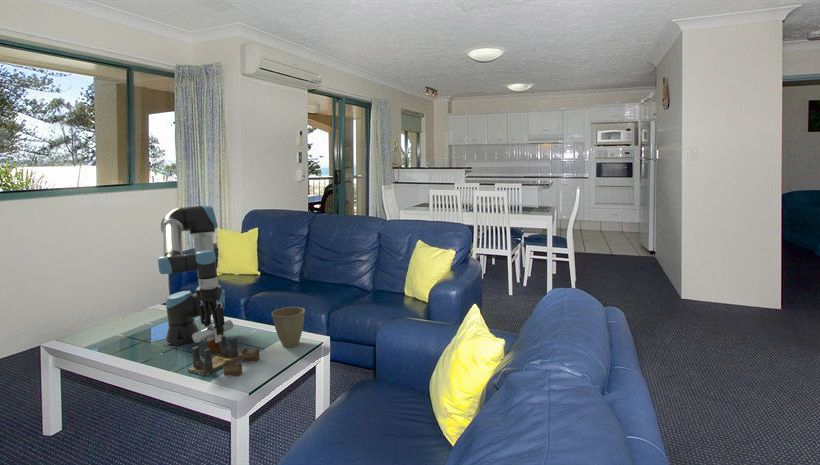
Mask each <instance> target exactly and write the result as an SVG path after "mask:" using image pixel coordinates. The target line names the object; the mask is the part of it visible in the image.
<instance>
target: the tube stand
mask: <svg viewBox="0 0 820 465" xmlns="http://www.w3.org/2000/svg"><path fill="white" fill-rule="evenodd" d="M241 354H242V358H241V359H242V360H239V361H237V362H235V363H234V362H232V363H229V360H227V361H225V362H224V363H223V367H222V370H223V375H224V376H228V375H231V376H230V377H232V376H233V377H240V376H242V374H243V362H248V363H249V362H250V363H257V362H259V361H260V360H261V355H260V347H257V348H254V349H248V347H247V346H245V347H244V348H242V349H241Z"/></svg>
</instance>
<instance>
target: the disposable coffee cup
mask: <svg viewBox="0 0 820 465" xmlns="http://www.w3.org/2000/svg"><path fill="white" fill-rule="evenodd" d="M211 323H212V324H210V325H212V326H215V324H214V322H211ZM204 329H206V328H205V326H204V325H203V327H202V330H204ZM202 330H201V331H202ZM222 335H225V332H223V333H221V336H222ZM205 343H206V346H207V349H211V354H216V353H220V348H219V342H217V343H215V336H214V340H211V341H207V339H205Z"/></svg>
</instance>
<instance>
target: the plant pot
mask: <svg viewBox="0 0 820 465" xmlns="http://www.w3.org/2000/svg"><path fill="white" fill-rule="evenodd" d="M305 310H306V309H305V308H303V307H298V306H289V307H287V306H286V307H282V308H277V309H275V310H273V311H272V312H271V318H272V320H273V325H274V328H275V332H276V334H277V337H278V339H279V341H280V344H281V345H282V346H283V347H284V348H293V347H297V346H298V345H299V343H300V341H301V338H302V337H301V336H302V333H303V328H304V321H305ZM296 345H297V346H296Z"/></svg>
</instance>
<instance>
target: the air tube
mask: <svg viewBox="0 0 820 465" xmlns="http://www.w3.org/2000/svg"><path fill="white" fill-rule="evenodd" d="M224 323H225V324H224V325H223V326H221V333H223V332H224V333H225V332H227V331H229V330H231V329H233V328H234V323H233V321H232V320H230V319H228V320H226V321H225V320H224ZM214 327H215V326H212V327H209V328H207V329H204V330H200V331H199V332H196V333H194V334H193V335H192V338H193V341H194V342H193V343H196V344H197V343H200V342H203V341H206V339H208V338H210V337H212V336H215V335H214Z"/></svg>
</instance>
